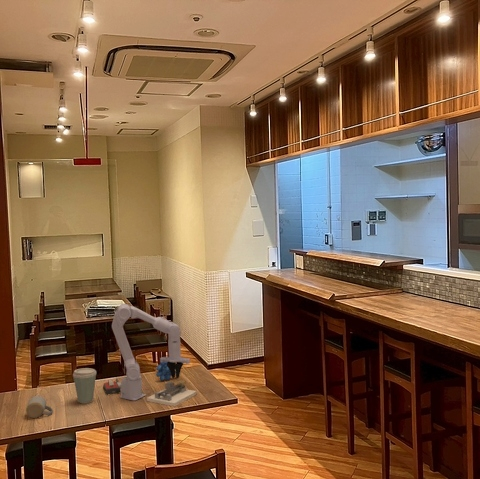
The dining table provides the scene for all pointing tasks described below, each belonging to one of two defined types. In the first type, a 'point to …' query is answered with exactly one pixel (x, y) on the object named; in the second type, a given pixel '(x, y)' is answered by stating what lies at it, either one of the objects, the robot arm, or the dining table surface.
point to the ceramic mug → (37, 407)
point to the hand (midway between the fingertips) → (175, 377)
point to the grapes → (163, 371)
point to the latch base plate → (172, 396)
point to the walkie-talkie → (112, 387)
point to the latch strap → (171, 390)
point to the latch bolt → (180, 382)
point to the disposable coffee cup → (84, 384)
